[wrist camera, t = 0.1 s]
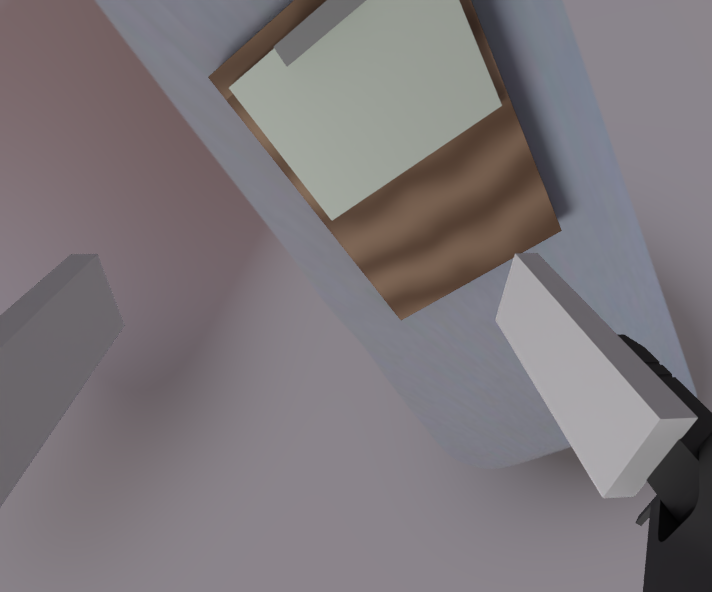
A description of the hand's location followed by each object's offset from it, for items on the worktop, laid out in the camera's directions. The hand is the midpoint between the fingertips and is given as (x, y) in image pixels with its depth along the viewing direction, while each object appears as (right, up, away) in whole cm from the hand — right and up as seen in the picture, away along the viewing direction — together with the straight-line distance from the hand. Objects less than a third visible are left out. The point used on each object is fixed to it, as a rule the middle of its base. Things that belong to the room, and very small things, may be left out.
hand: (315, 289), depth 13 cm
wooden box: (+6, +13, +25) cm, 29 cm away
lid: (+2, +17, +20) cm, 26 cm away
